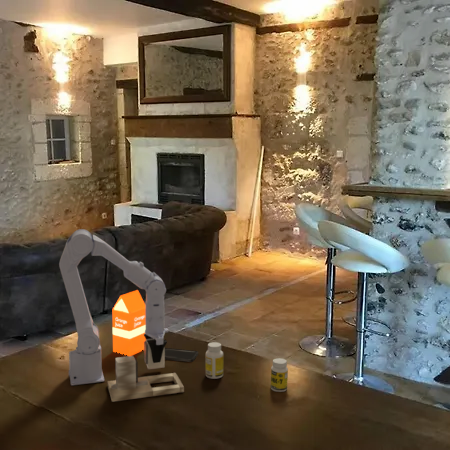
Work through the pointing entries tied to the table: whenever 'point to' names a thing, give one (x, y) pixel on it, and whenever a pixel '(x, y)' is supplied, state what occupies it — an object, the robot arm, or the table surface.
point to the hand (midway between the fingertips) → (155, 359)
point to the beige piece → (139, 382)
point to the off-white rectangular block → (148, 357)
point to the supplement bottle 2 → (279, 375)
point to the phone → (180, 354)
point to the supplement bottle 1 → (214, 361)
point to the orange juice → (129, 324)
